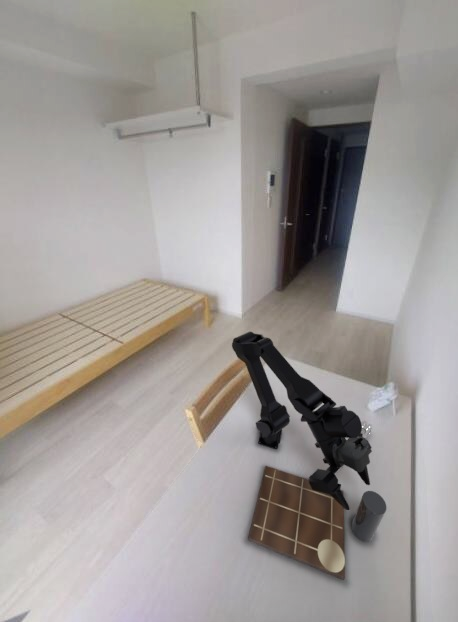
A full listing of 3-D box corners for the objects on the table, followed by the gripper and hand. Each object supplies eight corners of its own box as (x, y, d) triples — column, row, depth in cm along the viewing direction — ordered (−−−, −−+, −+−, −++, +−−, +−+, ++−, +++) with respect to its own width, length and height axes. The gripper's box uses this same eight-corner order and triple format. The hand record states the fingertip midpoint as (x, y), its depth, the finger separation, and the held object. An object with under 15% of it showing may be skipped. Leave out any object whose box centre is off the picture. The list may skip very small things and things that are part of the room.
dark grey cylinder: (351, 537, 67) (363, 509, 61) (350, 515, 71) (361, 487, 65) (374, 545, 65) (388, 518, 59) (371, 522, 69) (384, 494, 63)
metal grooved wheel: (362, 427, 95) (365, 417, 92) (371, 433, 92) (374, 423, 90) (355, 435, 92) (358, 425, 89) (363, 441, 90) (367, 431, 87)
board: (248, 540, 66) (248, 537, 66) (265, 468, 82) (265, 465, 81) (343, 580, 60) (345, 577, 59) (342, 493, 76) (343, 490, 75)
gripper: (327, 460, 56) (366, 536, 54) (372, 415, 66) (407, 477, 64) (294, 455, 66) (326, 520, 63) (338, 417, 76) (367, 471, 73)
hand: (358, 496), depth 65 cm, fingers open, 9 cm apart
